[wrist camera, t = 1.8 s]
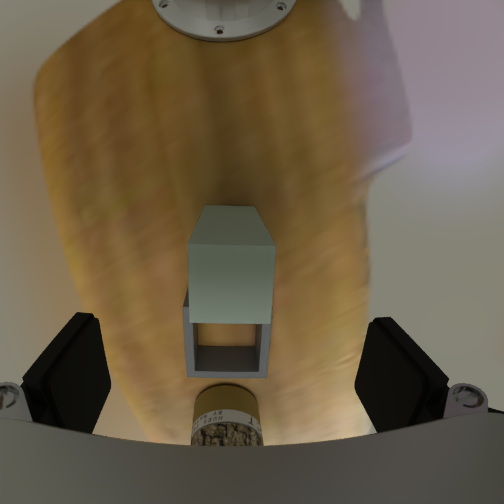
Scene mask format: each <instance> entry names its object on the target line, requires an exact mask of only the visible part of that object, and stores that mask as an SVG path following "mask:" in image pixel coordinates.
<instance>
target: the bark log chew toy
mask: <svg viewBox="0 0 504 504" xmlns="http://www.w3.org/2000/svg"><path fill="white" fill-rule="evenodd" d="M191 445H194V446H264V444H263V437H262V430H261V425H260V417H259V410H258V404H257V401H256V399H255V398H254V397H253V395H251V394H250V393H249V392H248V391H246V390H244V389H242V388H240V387H236V386H231V385H220V386H215V387H212V388H209V389H207V390H206V391H204V392H203V393H201V394H200V395H199V396H198V398H197V400H196V402H195V405H194V415H193V426H192V435H191Z"/></svg>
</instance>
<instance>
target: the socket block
mask: <svg viewBox="0 0 504 504" xmlns="http://www.w3.org/2000/svg"><path fill="white" fill-rule="evenodd" d="M272 310H273V308H272ZM272 310H271V322H272ZM183 320H184V339H185V355H186V369H187V377H199V378H267V367H268V356H269V345H270V334H271V322H270V324H256V338H255V347H224V346H198V333H197V323H190V320H189V290H187V293H186V297H185V301H184V305H183Z"/></svg>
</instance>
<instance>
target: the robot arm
mask: <svg viewBox="0 0 504 504" xmlns="http://www.w3.org/2000/svg"><path fill="white" fill-rule="evenodd" d="M295 2H296V0H152V3H153V5H154V7H155V9H156V11H157V13H158V14H159V15H160V17H161V18H162V20H164V21H165V22H166V23H167V24H168V25H169V26H170V27H172V28H173V29H175V30H177V31H178V32H180V33H182V34H185V35H187V36H190V37H193V38H196V39H201V40H206V41H219V42H225V41H237V40H242V39H246V38H251V37H254V36H256V35H259V34H261V33H264V32H266V31H268V30H269V29H271V28H273V27H275V26H276V25H277V24H279V23H280V22H281V21H282V20H283V19H284V18H285V17H286V16H287V15H288V14H289V12H290V11H291V9H292V8H293V6H294V4H295ZM165 6H167V7H165ZM163 7H165V8H163ZM278 8H280V9H282V10H278ZM218 31H222V32H223V34H217V32H218ZM22 378H23V381H24V382H23V383H22V384H21V386H19V385H17V384H15V383H12V382H3V383H0V504H504V412H503V411H499V410H496V409H492V408H488V399H487V396H486V394H485V393H484V392H483V391H482V390H481V389H480V388H478V387H476V386H474V385H471V384H466V383H460V384H455V385H453V386H452V387H451V388H449V387H448V386H447V383H448V381H449V378H448V377H447V376H446V375H445V374H444V373H443V372H442V370H441V369H440V368H439V367H438V366H437V365H436V364H435V363H434V362H433V361H432V360H431V358H430V357H429V356H428V355H427V354H426V353H425V352H424V351H423V350H422V349H421V348H420V347H419V346H418V345H417V344H416V343H415V342H414V340H413V339H412V338H410V336H409V335H408V334H407V333H406V332H405V331H404V330H403V329H402V328H401V327H400V326H399V325H398V324H397V323H396V322H395V321H394V320H393V319H392V318H391V317H379V318H375V319H374V320H373V322H370V323H369V325H368V330H367V334H366V339H365V343H364V347H363V352H362V356H361V360H360V364H359V368H358V372H357V376H356V379H355V391H356V393H357V395H358V397H359V399H360V401H361V403H362V405H363V406H364V408H365V410H366V412H367V414H368V416H369V418H370V420H371V422H372V424H373V426H374V427H375V429H376V431H377V433H375V434H369V435H363V436H357V437H350V438H344V439H336V440H328V441H320V442H310V443H299V444H286V445H269V446H194V445H177V444H164V443H153V442H143V441H135V440H127V439H120V438H113V437H107V436H101V435H95V434H92V432H93V430H94V427H95V425H96V423H97V420H98V418H99V415H100V413H101V410H102V408H103V406H104V404H105V401H106V399H107V396H108V394H109V392H110V389H111V379H110V375H109V370H108V366H107V361H106V356H105V351H104V346H103V340H102V335H101V329H100V323H99V320H98V318H95V317H94V315H93V314H92V313H80V312H77V313H76V314H75V315H74V316H73V317H72V318H71V319H70V320H69V322H68V323H67V324H66V325H65V326H64V327H63V329H62V330H61V331H60V332H59V333H58V335H57V336H56V337H55V338H54V339H53V340H52V341H51V343H50V344H49V345H48V346H47V348H46V349H45V350H44V351H43V352H42V354H41V355H40V356H39V357H38V359H37V360H36V361H35V362H34V363H33V365H32V366H31V367H30V369H29V370H28V371H27V372H26V374H25V375H24V376H23V377H22Z"/></svg>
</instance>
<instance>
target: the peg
mask: <svg viewBox="0 0 504 504" xmlns="http://www.w3.org/2000/svg"><path fill="white" fill-rule="evenodd" d="M275 257H276V245H275V243H274V241H273V239H272V237H271V236H270V234H269V232H268V230H267V228H266V226H265V225H264V223H263V221H262V219H261V217H260V215H259V214H258V212H257V210H256V208H255V206H226V205H205V206H204V208H203V211H202V213H201V215H200V217H199V220H198V222H197V224H196V226H195V229H194V231H193V233H192V235H191V238H190V240H189V242H188V290H189V320H190V323H221V324H270V322H271V310H272V297H273V284H274V271H275Z"/></svg>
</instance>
